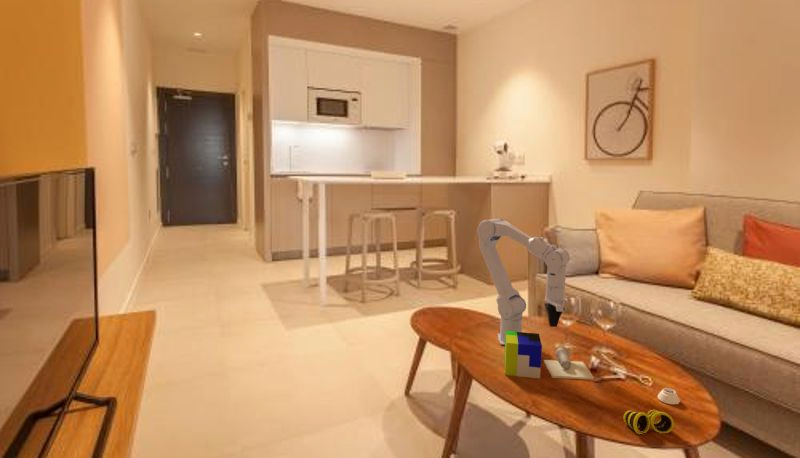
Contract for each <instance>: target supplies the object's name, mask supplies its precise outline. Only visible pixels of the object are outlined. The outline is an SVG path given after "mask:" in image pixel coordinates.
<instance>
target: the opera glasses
mask: <svg viewBox="0 0 800 458" xmlns="http://www.w3.org/2000/svg"><path fill="white" fill-rule="evenodd" d="M658 416H659V417H660V418H659V420H658V421H657V422H655V421H654V420H655V419H656V417H658ZM622 420H623V422H624V423H625V425H627V426H628V427H630V428H631V429H632V430H634V431H635V433H636V434H638V435H640V434H643V433H645V434H647V432H648V431H649V429H650V426H651V428H652V430H654V431H655V432H656V433H658V432H659V433H658V434H661V433H667V434H669V433H671V432H672V431H673V429H674V426H675V421H674V419H673V417H672V416H671V415H670V414H668V413H667V412H664V411H659V410H657V409H651V410H649V411H648V412H647V413H646V412H642V411H641V412H638V411H633V410H627V411H625V413H624V414H623V419H622ZM638 429H639V430H640V431H643V432H639V431H638ZM643 435H644V434H643Z"/></svg>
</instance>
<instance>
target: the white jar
mask: <svg viewBox="0 0 800 458" xmlns="http://www.w3.org/2000/svg"><path fill="white" fill-rule="evenodd" d="M657 399H658V400H659V401H661V402H662V403H665V404H668V405H679V404H680V398H679V395H678V394H677V392H676V390H675V389H673V388H669V387H664V388H662V389H661V391H660V392H659V393H658V394H657Z"/></svg>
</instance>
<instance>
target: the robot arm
mask: <svg viewBox="0 0 800 458" xmlns="http://www.w3.org/2000/svg"><path fill="white" fill-rule="evenodd" d="M476 233H477V235H478V247H479V251H480V253H481V256H482V257H483V260H484V263H485V265H486V267H487V269H488V272H489V274H490V277H491V280H492V281H493V284H494V286H495V288H496V292H497V296H496V300H495V301H496V302H497V312H498V314H499V315H500V326H499V328H500V331H499V332H500V333H497V334H496V335H498V336H497V339H498V341H499V345H501V346H502V345H503V346H505V337H506V331H512V332H523V330H522V329H523V313H524V312H525V311H526V309H527V302H526V300H525V298H523V297H522V296H521V295H520V291H518V290H517V289H516V288H515V287H513V285H512V282H511V280H510V277H509V276H508V273H507V271H506V269H505V266H504V263H503V261H502V259H501V257H500V254H499V252H498V250H497V247H496V246H497V244H498V241H499V240H500V239H501V237H508V238H509V239H512V240H514V241H516V242H518V243H520V244H521V245H524V246H526V249H527V252H529V253H530V254H532V255H533V256H535V257H537V258H539V259H541V260H542V261H543V262H544V263H545V265H546V266H547V269H546V270H547V271H546V285H545V286H546V287H545V297H544V301H545V303H544V304H543V305H544V307H545V310H546V313H547V319H548V325H549V326H550V328H554V327H555V328H557V327H558V324H559V320H560V318H561V316H562V314H563V313H564V311H565V306H564V305H565V303H568V302H569V301H568V298H565V292H566V278H567V277H566V275H567V273H566V272H567V264H568V263H569V261H570V254H569V252H568V251H567V250H566V249H565V248H564V247H558V248H557V245H555V244H551V243H549V242H547V241H545V240H544V239H545V238H544V237H542V236H539V237H538V236H534V237H531V236H530V235H528V234H526V233H525V231H524V232H523V231H522V230H520V229H519V228H517V227H516V226H514V225H513V224H512V223H510V222H509V221H507V220H504V219H503V218H501V217H496V218H493V219H491V218H490V219H484V220H482V221H480V222H479V224H478V226H477V229H476ZM546 302H547V303H546Z"/></svg>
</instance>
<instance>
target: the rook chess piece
mask: <svg viewBox="0 0 800 458" xmlns="http://www.w3.org/2000/svg"><path fill="white" fill-rule="evenodd" d="M570 353H571V352H570V351H569V349H568V348H567V347H565V346H564V347H563V346H560V347H558V348H557V349H555V352H554V354H555V355H554V356H555V357H556V359H557V361H560V365H561V367H562V368H564V369H569V368H570V367H571V364H572V363H571V361H572V360H570V359H571V357H570V356H571V354H570Z"/></svg>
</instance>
